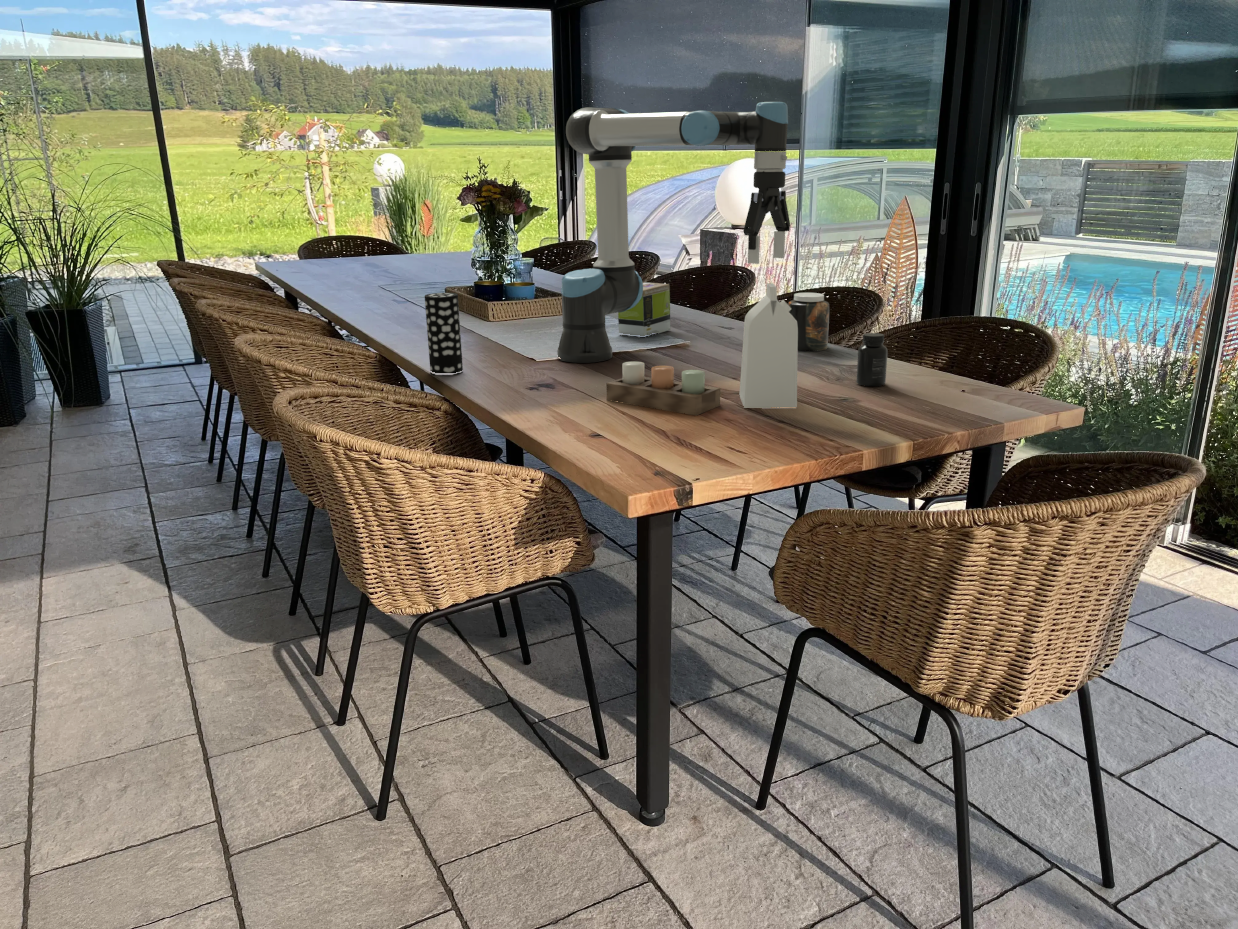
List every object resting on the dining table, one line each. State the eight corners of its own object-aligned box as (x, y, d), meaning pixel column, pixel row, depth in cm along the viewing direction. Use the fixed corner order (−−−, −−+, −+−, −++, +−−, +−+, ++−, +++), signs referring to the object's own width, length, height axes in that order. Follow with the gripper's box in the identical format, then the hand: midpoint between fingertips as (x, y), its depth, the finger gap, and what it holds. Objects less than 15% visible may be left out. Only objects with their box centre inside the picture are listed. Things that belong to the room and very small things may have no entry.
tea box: (644, 327, 302) (644, 281, 298) (671, 330, 297) (671, 283, 292) (617, 335, 291) (616, 287, 286) (644, 338, 285) (643, 289, 281)
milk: (739, 395, 218) (742, 281, 210) (789, 394, 218) (794, 281, 210) (744, 408, 207) (747, 289, 199) (796, 408, 207) (802, 288, 198)
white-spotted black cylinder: (469, 370, 247) (464, 293, 241) (451, 377, 240) (445, 298, 233) (442, 367, 250) (437, 292, 244) (424, 374, 243) (417, 296, 237)
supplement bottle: (886, 381, 229) (890, 332, 225) (884, 388, 222) (888, 337, 219) (857, 380, 231) (860, 331, 227) (854, 386, 225) (857, 336, 221)
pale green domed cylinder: (677, 395, 207) (677, 373, 205) (689, 390, 210) (689, 368, 209) (696, 398, 204) (697, 375, 202) (708, 393, 208) (709, 371, 206)
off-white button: (618, 386, 216) (617, 364, 214) (630, 381, 219) (630, 360, 218) (636, 388, 213) (636, 367, 211) (648, 384, 217) (648, 363, 215)
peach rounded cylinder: (647, 390, 211) (647, 368, 210) (659, 386, 215) (659, 364, 213) (665, 393, 208) (665, 371, 207) (678, 389, 212) (678, 367, 211)
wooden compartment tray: (606, 400, 215) (606, 383, 214) (632, 391, 223) (631, 374, 222) (696, 415, 202) (696, 397, 201) (720, 405, 210) (720, 387, 208)
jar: (781, 350, 266) (783, 296, 261) (790, 342, 276) (792, 290, 272) (823, 352, 262) (826, 298, 257) (830, 344, 272) (833, 292, 267)
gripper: (759, 172, 215) (756, 266, 222) (806, 169, 234) (801, 256, 241) (730, 171, 219) (728, 264, 226) (778, 169, 238) (775, 254, 245)
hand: (766, 260), depth 233 cm, fingers open, 13 cm apart
